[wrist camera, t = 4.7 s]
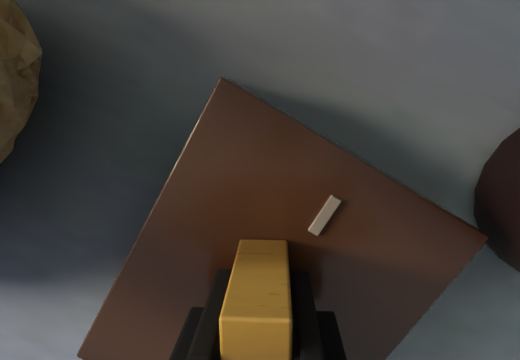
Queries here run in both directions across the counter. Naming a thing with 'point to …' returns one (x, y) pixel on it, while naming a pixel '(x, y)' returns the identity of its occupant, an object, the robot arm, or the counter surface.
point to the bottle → (501, 201)
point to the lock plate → (281, 234)
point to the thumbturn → (258, 304)
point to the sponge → (16, 73)
